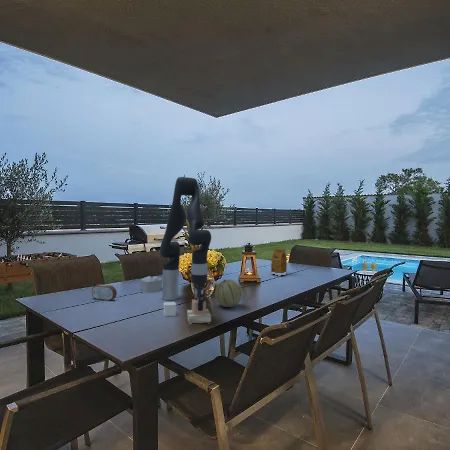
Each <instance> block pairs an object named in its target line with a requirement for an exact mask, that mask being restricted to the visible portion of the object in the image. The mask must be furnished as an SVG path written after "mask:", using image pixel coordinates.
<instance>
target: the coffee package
mask: <svg viewBox="0 0 450 450" xmlns="http://www.w3.org/2000/svg"><path fill="white" fill-rule="evenodd" d="M287 262H288V257H287V254H286V249H284V248H283V249H279V248H276V247H275V248H274V250H273V254H272V257H271V263H270V264H271V265H270V273H271V272H275V273H284V272H286V273H287V272H288V271H287V269H288V268H287V267H288V266H287V264H288V263H287Z"/></svg>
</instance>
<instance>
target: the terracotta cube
mask: <svg viewBox="0 0 450 450" xmlns="http://www.w3.org/2000/svg"><path fill="white" fill-rule="evenodd" d="M200 300H202V298H200ZM206 309H207V301H204V302H203V310H202V311H198V299H197V300H195V299H191V310H192V312H193V314H194V315H198V314H206Z"/></svg>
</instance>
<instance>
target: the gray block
mask: <svg viewBox="0 0 450 450" xmlns="http://www.w3.org/2000/svg"><path fill="white" fill-rule="evenodd" d="M186 319H187V322H189V323H188V325H193V324H192V323H203V322H211V323H212V315H211V312H210V310H209V309H208V308H206V314H198V315H194V314H193V312H192V309H187V310H186Z"/></svg>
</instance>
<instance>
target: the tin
mask: <svg viewBox="0 0 450 450" xmlns="http://www.w3.org/2000/svg"><path fill="white" fill-rule="evenodd" d="M117 294H118V293H117V289H116V287H114V286H113V285H111V284H103V283H98V284H96V285H93V287H92V288H91V296H92V297H93V298H94V299H95V300H99V301H100V300H101V301H112V300H114V299H115V298H116V297H117Z"/></svg>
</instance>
